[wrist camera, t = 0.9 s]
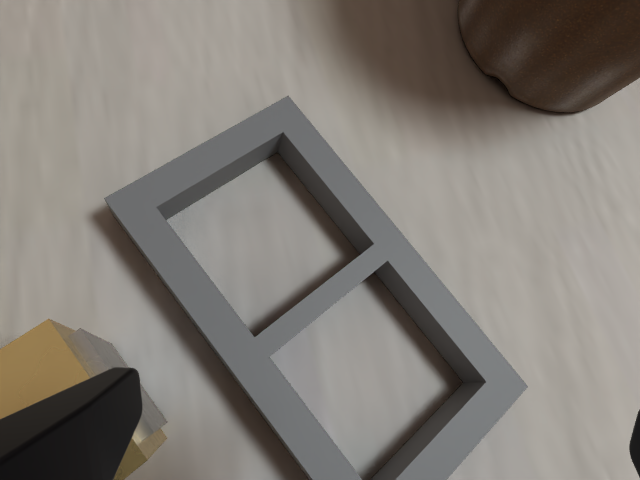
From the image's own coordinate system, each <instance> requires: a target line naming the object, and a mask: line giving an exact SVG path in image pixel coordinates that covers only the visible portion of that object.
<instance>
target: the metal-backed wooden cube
mask: <svg viewBox="0 0 640 480" xmlns="http://www.w3.org/2000/svg"><path fill="white" fill-rule="evenodd" d="M114 367H124V368H129V367H128V366H127V364H126V363H125V362H124V360H123V359H122V357H121V356H120V355H119V353H118V352H117V350H116V349H115V347H114V346H113V345H112V343H109V342H107V341H105V340H103V339H101V338H99V337H97V336H95V335H93V334H91V333H89V332H87V331H85V330H83V329H81V328H80V329H78V330H77V331H75V330H73V329H70V328H68V327H66V326H64V325H61V324H59V323H57V322H55V321H53V320H50V319H48V320H46V321H44V322H43V323H41V324H40V325H38V326H36V327H35V328H33V329H32V330H30V331H29V332H27V333H25V334H24V335H22V336H21V337H19V338H17V339H16V340H14V341H13V342H11V343H10V344H8V345H6V346H5V347H3V348H2V349H0V419H2V418H4V417H6V416H8V415H10V414H13V413H15V412H17V411H19V410H21V409H24V408H26V407H28V406H30V405H32V404H34V403H37V402H39V401H41V400H43V399H45V398H48V397H50V396H52V395H54V394H56V393H59V392H61V391H63V390H65V389H67V388H70V387H72V386H74V385H76V384H78V383H80V382H83V381H85V380H87V379H89V378H91V377H94V376H96V375H98V374H100V373H102V372H105V371H107V370H109V369H111V368H114ZM140 387H141V395H142V404H143V408H142V415H141V418H140V421H139V423H138V425H137V427H136V430H135V432H134V434H133V436H132V439H131V441H130V443H129V445H128V448H127V450H126V452H125V454H124V457H123V459H122V461H121V463H120V465H119V468H118V470H117V472H116V474H115V477H114V479H113V480H124V479H125V478H126V477H127V476H129V475H130V474H131V473H132V472H133V471H135V470H136V469H137V468H138V467H140V466H141V465H142V464H143V463H145V462H146V461H147V460H148V459H149V458H150V457H151V456H152V455H153V453H154V452H155V451H156V450H157V449H158V448H159V447H160V446H161V445H162V443H163V442H164V441H165V440H166V439H167V437H166V436H165V434H164V433H163V431H162V430H161V427H162V426H164V425H165V424H166V423H167V420H166V419H165V418H164V416H163V415H162V413H161V412H160V411H159V409H158V408H157V406H156V405H155V404H154V402H153V401H152V399H151V398H150V397H149V395H148V394H147V392H146V391H145V390H144V388H143V387H142V385H141V384H140Z"/></svg>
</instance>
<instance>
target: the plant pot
mask: <svg viewBox="0 0 640 480" xmlns="http://www.w3.org/2000/svg"><path fill="white" fill-rule="evenodd" d="M458 20H459V26H460V31H461V34H462V38H463V40H464V43H465V45H466V48H467V49H468V51H469V53H470V55H471V57H472V58H473V59H474V61H475V62H476V64H477V65H478V67H479V68H480V69H481V70H482V71H483V72H484V74H486V75H489V76H495V77H497V78H498V79H499V80H501V81H502V82H503V83H504V85H505V86H506V87H507V89H508V91H509V94H510V95H511V96H512V97H514V98H516V99H518V100H520V101H522V102H524V103H526V104H528V105H531V106H534V107H537V108H540V109H543V110H548V111H554V112H576V111H582V110H585V109H588V108H591V107H593V106H595V105H597V104H599V103H601V102H602V101H604V100H605V99H607V98H608V97H610V96H611V95H613V94H614V93H616V92H618V91H619V90H621V89H622V88H624V87H626V86H627V85H629V84H630V83H632V82H634V81H635V80H637V79H638V78H640V0H459V5H458Z"/></svg>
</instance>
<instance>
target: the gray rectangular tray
mask: <svg viewBox="0 0 640 480" xmlns="http://www.w3.org/2000/svg"><path fill="white" fill-rule="evenodd" d="M277 152H278V153H279V154H280V156H281V157H282V158H283V159H284V161H285V162H286V163H287V164H288V166H289V167H290V168H291V169H292V171H293V172H294V173H295V174H296V175H297V177H298V178H299V179H300V180H301V182H302V183H303V184H304V185H305V187H306V188H307V189H308V190H309V192H310V193H311V194H312V195H313V197H314V198H315V199H316V200H317V202H318V203H319V204H320V205H321V206H322V208H323V209H324V210H325V211H326V213H327V214H328V215H329V216H330V218H331V219H332V220H333V221H334V223H335V224H336V225H337V226H338V228H339V229H340V230H341V231H342V232H343V234H344V235H345V236H346V237H347V239H348V240H349V241H350V242H351V244H352V245H353V246H354V247H355V249H356V250H357V251H358V252H359V254H360V255H359V256H358V257H357V258H356V259H354V260H353V261H352V262H350V263H349V264H348V265H347V266H345V267H344V268H343V269H341V270H340V271H339V272H338V273H336V274H335V275H334V276H333V277H331V278H330V279H329V280H327V281H326V282H325V283H324V284H322V285H321V286H320V287H318V288H317V289H316V290H315V291H313V292H312V293H311V294H309V295H308V296H307V297H306V298H304V299H303V300H302V301H301V302H299V303H298V304H297V305H295V306H294V307H293V308H292V309H290V310H289V311H288V312H286V313H285V314H284V315H283V316H281V317H280V318H279V319H277V320H276V321H275V322H274V323H272V324H271V325H270V326H269V327H267V328H266V329H265V330H263V331H262V332H261V333H260V334H258V335H257V336H256V337H254V336H253V335H252V333H251V332H250V331H249V329H248V328H247V327H246V325H245V324H244V323H243V321H242V320H241V319H240V317H239V316H238V315H237V313H236V312H235V311H234V309H233V308H232V307H231V306H230V304H229V303H228V302H227V300H226V299H225V298H224V296H223V295H222V294H221V292H220V291H219V290H218V288H217V287H216V286H215V284H214V283H213V282H212V280H211V279H210V278H209V276H208V275H207V274H206V272H205V271H204V270H203V269H202V267H201V266H200V265H199V263H198V262H197V261H196V259H195V258H194V257H193V255H192V254H191V253H190V251H189V250H188V249H187V247H186V246H185V245H184V243H183V242H182V241H181V239H180V238H179V237H178V235H177V234H176V233H175V231H174V230H173V229H172V228H171V226H170V225H169V224H168V222H167V221H166V220H167V219H168V218H170V217H172V216H173V215H175V214H176V213H178V212H180V211H181V210H183V209H185V208H186V207H188V206H190V205H191V204H193V203H195V202H196V201H198V200H199V199H201V198H203V197H204V196H206V195H208V194H209V193H211V192H213V191H214V190H216V189H217V188H219V187H221V186H222V185H224V184H226V183H227V182H229V181H231V180H232V179H234V178H236V177H237V176H239V175H240V174H242V173H244V172H245V171H247V170H249V169H250V168H252V167H254V166H255V165H257V164H258V163H260V162H262V161H263V160H265V159H267V158H268V157H270V156H272V155H273V154H275V153H277ZM104 199H105V201H106V203H107V205H108V207H109V208H110V210H111V212H112V214H113V216H114V217H115V218H116V220H117V221H118V222H119V224H120V225H121V226H122V228H123V229H124V230H125V232H126V233H127V235H128V236H129V237H130V239H131V240H132V241H133V243H134V244H135V245H136V247H137V248H138V249H139V251H140V252H141V253H142V255H143V256H144V257H145V259H146V260H147V262H148V263H149V264H150V266H151V267H152V268H153V270H154V271H155V272H156V274H157V275H158V276H159V278H160V279H161V280H162V282H163V283H164V284H165V286H166V287H167V288H168V290H169V291H170V293H171V294H172V295H173V297H174V298H175V299H176V301H177V302H178V303H179V305H180V306H181V307H182V309H183V310H184V311H185V313H186V314H187V315H188V317H189V318H190V320H191V321H192V322H193V324H194V325H195V326H196V328H197V329H198V330H199V332H200V333H201V334H202V336H203V337H204V338H205V340H206V341H207V342H208V344H209V345H210V346H211V348H212V349H213V351H214V352H215V353H216V355H217V356H218V357H219V359H220V360H221V361H222V363H223V364H224V365H225V367H226V368H227V369H228V371H229V372H230V373H231V375H232V376H233V378H234V379H235V380H236V382H237V383H238V384H239V386H240V387H241V388H242V390H243V391H244V392H245V394H246V395H247V396H248V398H249V399H250V400H251V402H252V403H253V404H254V406H255V407H256V409H257V410H258V411H259V413H260V414H261V415H262V417H263V418H264V419H265V421H266V422H267V423H268V425H269V426H270V427H271V429H272V430H273V431H274V433H275V434H276V436H277V437H278V438H279V440H280V441H281V442H282V444H283V445H284V446H285V448H286V449H287V450H288V452H289V453H290V454H291V456H292V457H293V458H294V460H295V461H296V462H297V464H298V465H299V467H300V468H301V469H302V471H303V472H304V473H305V475H306V476H307V477H308V479H309V480H362V479H361V477H360V476H359V475H358V473H357V472H356V471H355V469H354V468H353V467H352V466H351V464H350V463H349V462H348V460H347V459H346V458H345V456H344V455H343V454H342V452H341V451H340V450H339V448H338V447H337V446H336V444H335V443H334V442H333V440H332V439H331V438H330V436H329V435H328V434H327V432H326V431H325V430H324V429H323V427H322V426H321V425H320V423H319V422H318V421H317V419H316V418H315V417H314V415H313V414H312V413H311V411H310V410H309V409H308V407H307V406H306V405H305V403H304V402H303V401H302V399H301V398H300V397H299V395H298V394H297V393H296V391H295V390H294V389H293V388H292V386H291V385H290V384H289V382H288V381H287V380H286V378H285V377H284V376H283V374H282V373H281V372H280V370H279V369H278V368H277V366H276V365H275V364H274V362H273V361H272V360H271V358H270V356H271V355H272V354H273V353H275V352H276V351H277V350H278V349H280V348H281V347H282V346H283V345H284V344H286V343H287V342H288V341H289V340H291V339H292V338H293V337H294V336H296V335H297V334H298V333H299V332H300V331H302V330H303V329H304V328H305V327H307V326H308V325H309V324H310V323H312V322H313V321H314V320H315V319H316V318H318V317H319V316H320V315H321V314H323V313H324V312H325V311H326V310H328V309H329V308H330V307H331V306H332V305H334V304H335V303H336V302H337V301H339V300H340V299H341V298H342V297H344V296H345V295H346V294H347V293H348V292H350V291H351V290H352V289H353V288H355V287H356V286H357V285H358V284H360V283H361V282H362V281H363V280H364V279H366V278H367V277H368V276H369V275H371V274H372V273H373V272H375V273H376V275H377V276H378V277H379V278H380V280H381V281H382V282H383V283H384V285H385V286H386V287H387V288H388V290H389V291H390V292H391V293H392V294H393V296H394V297H395V298H396V299H397V301H398V302H399V303H400V304H401V306H402V307H403V308H404V309H405V311H406V312H407V313H408V314H409V316H410V317H411V318H412V319H413V321H414V322H415V323H416V324H417V325H418V327H419V328H420V329H421V330H422V332H423V333H424V334H425V335H426V337H427V338H428V339H429V340H430V342H431V343H432V344H433V345H434V347H435V348H436V349H437V350H438V351H439V353H440V354H441V355H442V356H443V358H444V359H445V360H446V361H447V363H448V364H449V365H450V366H451V368H452V369H453V370H454V371H455V373H456V374H457V375H458V376H459V378H460V379H461V380H462V381H463V382H464V383H463V384H462V385H461V386H460V387H459V388H458V389H457V390H456V391H455V392H454V393H453V394H452V395H451V396H450V397H449V398H448V399H447V400H446V401H445V402H444V403H443V404H442V406H441V407H440V408H439V409H438V410H437V411H436V412H435V413H434V414H433V415H432V416H431V417H430V418H429V419H428V420H427V421H426V422H425V423H424V424H423V425H422V426H421V427H420V428H419V430H418V431H417V432H416V433H415V434H414V435H413V436H412V437H411V438H410V439H409V440H408V441H407V442H406V443H405V444H404V445H403V446H402V447H401V448H400V449H399V450H398V451H397V453H396V454H395V455H394V456H393V457H392V458H391V459H390V460H389V461H388V462H387V463H386V464H385V465H384V466H383V467H382V468H381V469H380V470H379V471H378V472H377V473H376V474H375V475H374V477H373V478H372V479H371V480H447V479H448V478H449V476H450V475H451V474H452V473H453V472H454V471H455V470H456V468H457V467H458V466H459V465H460V464H461V463H462V462H463V460H464V459H465V458H466V457H467V456H468V455H469V454H470V452H471V451H472V450H473V449H474V448H475V447H476V446H477V444H478V443H479V442H480V441H481V440H482V439H483V438H484V436H485V435H486V434H487V433H488V432H489V431H490V430H491V428H492V427H493V426H494V425H495V424H496V423H497V422H498V420H499V419H500V418H501V417H502V416H503V415H504V414H505V412H506V411H507V410H508V409H509V408H510V407H511V406H512V404H513V403H514V402H515V401H516V400H517V399H518V398H519V396H520V395H521V394H522V393H523V392H524V391H525V390H526V388H527V387H528V386H527V385H526V383H525V382H524V381H523V380H522V379H521V377H520V376H519V375H518V374H517V373H516V371H515V370H514V369H513V368H512V366H511V365H510V364H509V363H508V362H507V360H506V359H505V358H504V357H503V356H502V354H501V353H500V352H499V351H498V349H497V348H496V347H495V346H494V345H493V343H492V342H491V341H490V340H489V339H488V337H487V336H486V335H485V334H484V332H483V331H482V330H481V329H480V328H479V326H478V325H477V324H476V323H475V322H474V320H473V319H472V318H471V317H470V315H469V314H468V313H467V312H466V311H465V309H464V308H463V307H462V306H461V305H460V303H459V302H458V301H457V300H456V299H455V297H454V296H453V295H452V294H451V292H450V291H449V290H448V289H447V288H446V286H445V285H444V284H443V283H442V282H441V280H440V279H439V278H438V277H437V275H436V274H435V273H434V272H433V271H432V269H431V268H430V267H429V266H428V265H427V263H426V262H425V261H424V260H423V258H422V257H421V256H420V255H419V254H418V252H417V251H416V250H415V249H414V248H413V246H412V245H411V244H410V243H409V242H408V240H407V239H406V238H405V237H404V235H403V234H402V233H401V232H400V231H399V229H398V228H397V227H396V226H395V225H394V223H393V222H392V221H391V220H390V218H389V217H388V216H387V215H386V214H385V212H384V211H383V210H382V209H381V208H380V206H379V205H378V204H377V203H376V201H375V200H374V199H373V198H372V197H371V195H370V194H369V193H368V192H367V191H366V189H365V188H364V187H363V186H362V184H361V183H360V182H359V181H358V180H357V178H356V177H355V176H354V175H353V174H352V172H351V171H350V170H349V169H348V168H347V166H346V165H345V164H344V163H343V161H342V160H341V159H340V158H339V157H338V155H337V154H336V153H335V152H334V151H333V149H332V148H331V147H330V146H329V144H328V143H327V142H326V141H325V140H324V138H323V137H322V136H321V135H320V134H319V132H318V131H317V130H316V129H315V127H314V126H313V125H312V124H311V123H310V121H309V120H308V119H307V118H306V117H305V115H304V114H303V113H302V112H301V111H300V109H299V108H298V107H297V106H296V104H295V103H294V102H293V101H292V100H291V98H290V97H289V96H287V97H285V98H283V99H281V100H280V101H278V102H276V103H274V104H272V105H271V106H269V107H267V108H265V109H263V110H262V111H260V112H258V113H256V114H255V115H253V116H251V117H249V118H247V119H246V120H244V121H242V122H240V123H238V124H237V125H235V126H233V127H231V128H229V129H228V130H226V131H224V132H222V133H220V134H219V135H217V136H215V137H213V138H212V139H210V140H208V141H206V142H204V143H203V144H201V145H199V146H197V147H195V148H194V149H192V150H190V151H188V152H186V153H185V154H183V155H181V156H179V157H177V158H176V159H174V160H172V161H170V162H169V163H167V164H165V165H163V166H161V167H160V168H158V169H156V170H154V171H152V172H151V173H149V174H147V175H145V176H143V177H142V178H140V179H138V180H136V181H134V182H133V183H131V184H129V185H127V186H126V187H124V188H122V189H120V190H118V191H117V192H115V193H113V194H111V195H109V196H108V197H106V198H104Z"/></svg>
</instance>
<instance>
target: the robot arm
mask: <svg viewBox="0 0 640 480" xmlns="http://www.w3.org/2000/svg"><path fill="white" fill-rule="evenodd" d="M142 408H143V404H142V395H141V387H140V378H139V373H138V371H137V370H136V369H134V368H124V367H114V368H111V369H109V370H107V371H105V372H102V373H100V374H98V375H96V376H94V377H91V378H89V379H87V380H85V381H83V382H80V383H78V384H76V385H74V386H72V387H70V388H67V389H65V390H63V391H61V392H59V393H56V394H54V395H52V396H50V397H48V398H45V399H43V400H41V401H39V402H37V403H34V404H32V405H30V406H28V407H26V408H24V409H21V410H19V411H17V412H15V413H13V414H10V415H8V416H6V417H4V418H2V419H0V480H113V479H114V477H115V474H116V472H117V470H118V468H119V465H120V463H121V461H122V459H123V457H124V454H125V452H126V450H127V448H128V445H129V443H130V441H131V439H132V436H133V434H134V432H135V430H136V427H137V425H138V423H139V421H140V418H141V415H142ZM629 450H630V455H631V459H632V462H633V464H634V466H635V468H636V470H637V473H638V475H639V477H640V410H639V412H638V415H637V418H636V422H635V426H634V429H633V433H632V437H631V441H630V448H629Z"/></svg>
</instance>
